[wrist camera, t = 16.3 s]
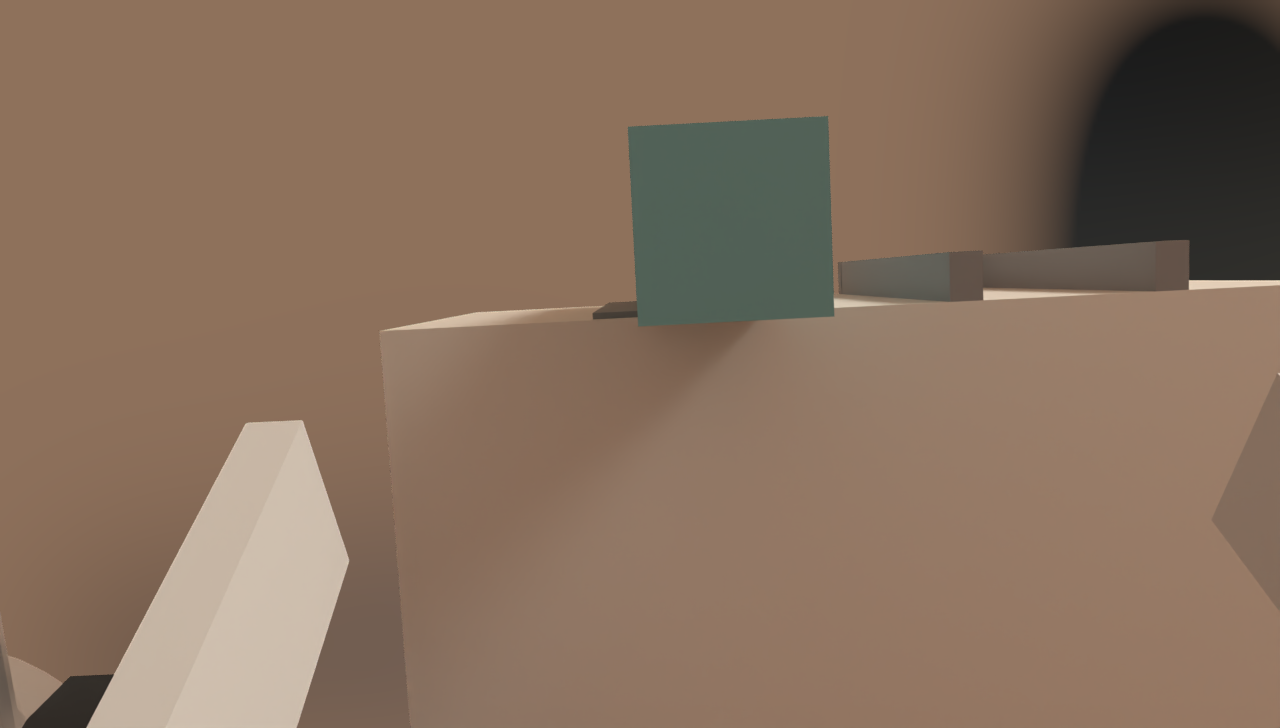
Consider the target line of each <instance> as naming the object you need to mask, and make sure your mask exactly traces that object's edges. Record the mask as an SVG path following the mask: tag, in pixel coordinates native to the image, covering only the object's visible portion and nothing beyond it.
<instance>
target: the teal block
mask: <svg viewBox="0 0 1280 728" xmlns="http://www.w3.org/2000/svg"><path fill="white" fill-rule="evenodd" d="M628 137H629V159H630V178H631V197H632V215H633V235H634V255H635V275H636V295H637V314H638V327H639V326H659V325H678V324H698V323H717V322H737V321H757V320H776V319H796V318H815V317H834V290H833V261H832V260H833V259H832V226H831V198H830V197H831V196H830V195H831V194H830V165H829V164H830V162H829V131H828V116H824V117H804V118H785V119H767V120H747V121H729V122H711V123H710V122H709V123H692V124H691V123H690V124H671V125H653V126H634V127H628Z"/></svg>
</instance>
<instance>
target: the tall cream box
mask: <svg viewBox="0 0 1280 728" xmlns="http://www.w3.org/2000/svg"><path fill="white" fill-rule="evenodd" d="M838 279H839V294H834V317H815V318H796V319H776V320H757V321H737V322H717V323H698V324H678V325H659V326H639V327H638V314H637V301H633V302H613V303H608V304H606V305H605V306H593V307H574V308H554V309H535V310H516V311H496V312H477V313H471V314H466V315H461V316H456V317H451V318H445V319H440V320H435V321H430V322H424V323H419V324H414V325H409V326H404V327H398V328H393V329H388V330H383V331H380V343H381V357H382V370H383V383H384V395H385V409H386V421H387V434H388V447H389V460H390V473H391V485H392V498H393V511H394V525H395V537H396V550H397V562H398V576H399V589H400V601H401V614H402V627H403V641H404V653H405V666H406V679H407V692H408V705H409V718H410V728H1280V612H1279V610H1278V609H1277V608H1276V606H1275V605H1274V604H1273V602H1272V601H1271V600H1270V598H1269V597H1268V596H1267V594H1266V593H1265V592H1264V590H1263V589H1262V587H1261V586H1260V585H1259V583H1258V582H1257V581H1256V579H1255V578H1254V577H1253V575H1252V574H1251V573H1250V571H1249V570H1248V569H1247V567H1246V566H1245V565H1244V563H1243V562H1242V561H1241V559H1240V558H1239V557H1238V555H1237V554H1236V553H1235V551H1234V550H1233V548H1232V547H1231V546H1230V544H1229V543H1228V542H1227V540H1226V539H1225V538H1224V536H1223V535H1222V534H1221V532H1220V531H1219V530H1218V528H1217V527H1216V526H1215V524H1214V523H1213V522H1212V520H1211V519H1212V517H1213V515H1214V513H1215V511H1216V508H1217V506H1218V504H1219V502H1220V499H1221V497H1222V495H1223V493H1224V491H1225V488H1226V486H1227V484H1228V482H1229V479H1230V477H1231V475H1232V473H1233V471H1234V468H1235V466H1236V464H1237V462H1238V459H1239V457H1240V455H1241V453H1242V451H1243V448H1244V446H1245V444H1246V442H1247V439H1248V437H1249V435H1250V433H1251V431H1252V428H1253V426H1254V424H1255V422H1256V419H1257V417H1258V415H1259V413H1260V411H1261V408H1262V406H1263V404H1264V402H1265V399H1266V397H1267V395H1268V393H1269V391H1270V388H1271V386H1272V384H1273V382H1274V379H1275V377H1276V375H1277V373H1280V281H1206V280H1199V281H1197V280H1195V281H1193V280H1192V281H1191V280H1189V240H1177V241H1158V242H1144V243H1131V244H1118V245H1104V246H1092V247H1077V248H1064V249H1051V250H1038V251H1026V252H1025V251H1024V252H1012V253H998V254H985V255H983V251H964V252H947V253H936V254H925V255H915V256H903V257H892V258H881V259H870V260H860V261H849V262H838Z"/></svg>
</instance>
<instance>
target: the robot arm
mask: <svg viewBox="0 0 1280 728" xmlns="http://www.w3.org/2000/svg"><path fill="white" fill-rule="evenodd" d="M1211 520H1212V522H1213V523H1214V524H1215V526H1216V527H1217V528H1218V530H1219V531H1220V532H1221V534H1222V535H1223V536H1224V538H1225V539H1226V540H1227V542H1228V543H1229V544H1230V546H1231V547H1232V548H1233V550H1234V551H1235V553H1236V554H1237V555H1238V557H1239V558H1240V559H1241V561H1242V562H1243V563H1244V565H1245V566H1246V567H1247V569H1248V570H1249V571H1250V573H1251V574H1252V575H1253V577H1254V578H1255V579H1256V581H1257V582H1258V583H1259V585H1260V586H1261V587H1262V589H1263V590H1264V592H1265V593H1266V594H1267V596H1268V597H1269V598H1270V600H1271V601H1272V602H1273V604H1274V605H1275V606H1276V608H1277V609H1278V610H1279V612H1280V373H1277V375H1276V377H1275V379H1274V382H1273V384H1272V386H1271V388H1270V391H1269V393H1268V395H1267V397H1266V399H1265V402H1264V404H1263V406H1262V408H1261V411H1260V413H1259V415H1258V417H1257V419H1256V422H1255V424H1254V426H1253V428H1252V431H1251V433H1250V435H1249V437H1248V439H1247V442H1246V444H1245V446H1244V448H1243V451H1242V453H1241V455H1240V457H1239V459H1238V462H1237V464H1236V466H1235V468H1234V471H1233V473H1232V475H1231V477H1230V479H1229V482H1228V484H1227V486H1226V488H1225V491H1224V493H1223V495H1222V497H1221V499H1220V502H1219V504H1218V506H1217V508H1216V511H1215V513H1214V515H1213V517H1212V519H1211ZM348 563H349V558H348V555H347V553H346V549H345V546H344V543H343V540H342V537H341V534H340V531H339V528H338V526H337V522H336V520H335V516H334V514H333V510H332V508H331V504H330V501H329V498H328V496H327V492H326V489H325V486H324V483H323V480H322V477H321V475H320V472H319V469H318V465H317V462H316V460H315V457H314V454H313V451H312V448H311V445H310V441H309V439H308V436H307V433H306V430H305V426H304V423H303V421H302V420H297V421H276V422H255V423H246V424H245V426H244V428H243V430H242V432H241V433H240V435H239V437H238V439H237V441H236V443H235V445H234V447H233V449H232V451H231V453H230V454H229V457H228V458H227V461H226V462H225V464H224V466H223V468H222V470H221V472H220V474H219V476H218V477H217V479H216V481H215V483H214V485H213V487H212V489H211V491H210V493H209V495H208V496H207V498H206V500H205V502H204V504H203V506H202V508H201V510H200V512H199V514H198V516H197V518H196V519H195V521H194V524H193V525H192V527H191V529H190V531H189V533H188V535H187V537H186V538H185V540H184V542H183V544H182V546H181V548H180V550H179V552H178V554H177V556H176V558H175V559H174V561H173V564H172V565H171V567H170V569H169V571H168V573H167V575H166V577H165V579H164V581H163V582H162V584H161V586H160V588H159V590H158V592H157V594H156V596H155V598H154V600H153V602H152V603H151V605H150V608H149V609H148V611H147V613H146V615H145V617H144V619H143V621H142V623H141V624H140V626H139V628H138V630H137V632H136V634H135V636H134V638H133V640H132V642H131V644H130V645H129V647H128V649H127V651H126V653H125V655H124V657H123V659H122V661H121V663H120V665H119V666H118V668H117V670H116V672H115V674H112V675H92V676H71V677H69V678H68V679H67V680H66V681H65V682H64V683H61V682H60V681H58V680H57V679H55V678H53V677H52V676H51V675H49V674H48V673H46V672H44V671H42V670H40V669H38V668H36V667H34V666H32V665H30V664H28V663H26V662H24V661H22V660H20V659H17V658H14V657H11V656H8V655H7V648H6V643H5V638H4V632H3V626H2V621H1V615H0V728H297V724H298V721H299V718H300V715H301V712H302V709H303V705H304V702H305V699H306V696H307V693H308V690H309V686H310V683H311V680H312V677H313V674H314V670H315V667H316V664H317V661H318V658H319V655H320V652H321V648H322V645H323V642H324V639H325V636H326V632H327V629H328V626H329V623H330V620H331V617H332V614H333V610H334V607H335V604H336V601H337V598H338V594H339V591H340V588H341V585H342V582H343V579H344V576H345V572H346V569H347V566H348Z"/></svg>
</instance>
